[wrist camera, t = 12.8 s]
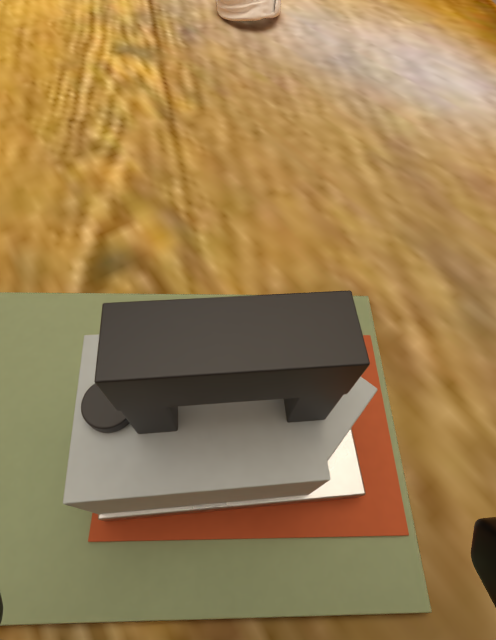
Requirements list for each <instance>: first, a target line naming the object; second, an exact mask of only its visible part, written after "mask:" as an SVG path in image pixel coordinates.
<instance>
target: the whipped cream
mask: <svg viewBox="0 0 496 640" xmlns="http://www.w3.org/2000/svg"><path fill="white" fill-rule="evenodd" d="M216 3H217V12H218V14H219V15H220V16H221V17H222V18H224V19H227V20H231V21H249V20H252V21H254V20H261V19H263V18H275V17H277V16H278V15H279V14H280V12H281V8H280V7H281V0H216Z"/></svg>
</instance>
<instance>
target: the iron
mask: <svg viewBox="0 0 496 640" xmlns="http://www.w3.org/2000/svg"><path fill="white" fill-rule="evenodd" d="M369 365H370V361H369V357H368V353H367V349H366V346H365V342H364V338H363V334H362V330H361V326H360V323H359V319H358V315H357V311H356V307H355V303H354V300H353V296H352V292H351V291H332V292H312V293H292V294H272V295H252V296H232V297H212V298H192V299H172V300H152V301H132V302H112V303H103V305H102V314H101V324H100V333H99V334H97V335H84V340H83V348H82V356H81V364H80V372H79V379H78V387H77V395H76V403H75V411H74V419H73V426H72V434H71V442H70V450H69V458H68V466H67V473H66V481H65V489H64V497H63V504H65V505H68V506H72V507H75V508H79V509H82V510H85V511H89V512H92V513H96V514H98V520H101V521H105V522H106V521H116V520H127V519H137V518H148V517H158V516H169V515H179V514H190V513H201V512H211V511H222V510H232V509H243V508H253V507H264V506H275V505H285V504H296V503H306V502H317V501H327V500H338V499H349V498H359V497H361V496H364V495H365V494H366V492H365V488H364V483H363V478H362V474H361V469H360V465H359V460H358V455H357V451H356V446H355V442H354V437H353V432H352V428H351V427H352V426H353V425H354V423H355V422H356V420H357V419H358V418H359V416H360V415H361V413H362V412H363V410H364V409H365V408H366V406H367V405H368V403H369V402H370V400H371V399H372V398H373V396H374V395H375V393H376V392H377V388H376V387H375V386H373V385H372V384H370V383H369V382H368V381H366V380H365V379H363V378H362V377H361V375H362V374H363V373H364V372H365V370H366V369H367V368H368V366H369Z"/></svg>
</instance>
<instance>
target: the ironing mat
mask: <svg viewBox="0 0 496 640" xmlns="http://www.w3.org/2000/svg"><path fill="white" fill-rule="evenodd" d="M232 296H252V295H206V294H101V293H0V593H1V597H2V602H3V617H2V621H1V624H0V626H1V625H35V624H68V623H102V622H136V621H169V620H203V619H236V618H270V617H304V616H337V615H371V614H405V613H431V606H430V601H429V596H428V591H427V586H426V581H425V576H424V572H423V567H422V562H421V557H420V552H419V547H418V542H417V537H416V532H415V527H414V522H413V517H412V512H411V507H410V502H409V497H408V492H407V487H406V482H405V477H404V472H403V467H402V462H401V457H400V452H399V447H398V442H397V437H396V432H395V427H394V422H393V417H392V413H391V408H390V403H389V398H388V393H387V388H386V383H385V378H384V373H383V368H382V363H381V358H380V353H379V348H378V343H377V338H376V333H375V328H374V323H373V318H372V313H371V308H370V303H369V298H368V296H353V300H354V303H355V307H356V311H357V315H358V319H359V323H360V326H361V330H362V334H363V338H364V342H365V346H366V349H367V353H368V357H369V361H370V365H369V366H368V368H367V369H366V370H365V372H364V373H363V374H362V375H361V377H362V378H363V379H365V380H366V381H368V382H369V383H370V384H372V385H373V386H375V387H376V388H377V392H376V393H375V395H374V396H373V398H372V399H371V400H370V402H369V403H368V405H367V406H366V408H365V409H364V410H363V412H362V413H361V415H360V416H359V418H358V419H357V420H356V422H355V423H354V425H353V426H352V427H351V428H352V432H353V437H354V442H355V446H356V451H357V455H358V460H359V465H360V469H361V474H362V478H363V483H364V488H365V492H366V494H365V495H364V496H361V497H359V498H349V499H338V500H327V501H317V502H306V503H296V504H285V505H275V506H264V507H253V508H243V509H232V510H222V511H211V512H201V513H190V514H179V515H169V516H158V517H148V518H137V519H127V520H116V521H106V522H105V521H101V520H98V514H96V513H92V512H89V511H85V510H82V509H79V508H75V507H72V506H68V505H65V504H63V497H64V489H65V481H66V473H67V466H68V458H69V450H70V442H71V434H72V426H73V419H74V411H75V403H76V395H77V387H78V379H79V372H80V364H81V356H82V348H83V340H84V335H97V334H99V333H100V324H101V314H102V305H103V303H112V302H132V301H152V300H172V299H192V298H212V297H232Z"/></svg>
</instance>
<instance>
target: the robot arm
mask: <svg viewBox="0 0 496 640" xmlns="http://www.w3.org/2000/svg"><path fill="white" fill-rule="evenodd" d="M471 558H472V562H473V565H474V567H475V569H476V571H477V573H478V575H479V577H480V579H481V580H482V582H483V584H484V586H485V588H486V590H487V592H488V594H489V596H490V598H491V599H492V601H493V603H494V605H495V607H496V517H492V518H482V519H478V520H477V521H476V523H475V526H474V533H473V541H472V548H471ZM2 617H3V602H2V597H1V593H0V624H1V621H2Z"/></svg>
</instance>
